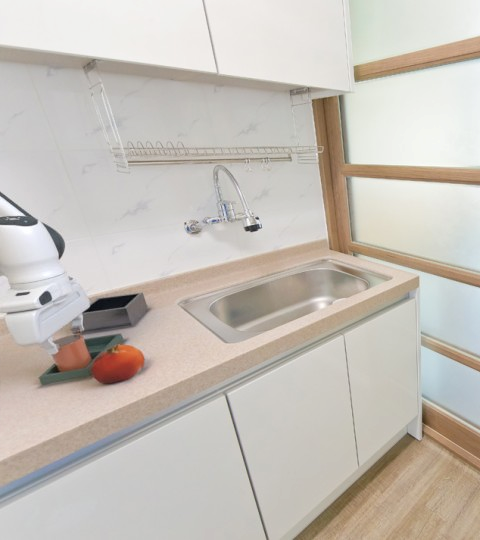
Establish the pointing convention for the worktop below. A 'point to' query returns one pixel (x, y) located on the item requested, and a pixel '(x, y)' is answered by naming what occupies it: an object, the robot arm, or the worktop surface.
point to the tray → (95, 349)
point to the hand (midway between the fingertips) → (67, 342)
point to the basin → (114, 312)
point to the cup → (71, 353)
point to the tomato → (117, 364)
